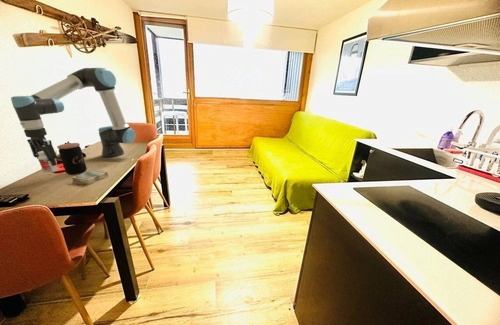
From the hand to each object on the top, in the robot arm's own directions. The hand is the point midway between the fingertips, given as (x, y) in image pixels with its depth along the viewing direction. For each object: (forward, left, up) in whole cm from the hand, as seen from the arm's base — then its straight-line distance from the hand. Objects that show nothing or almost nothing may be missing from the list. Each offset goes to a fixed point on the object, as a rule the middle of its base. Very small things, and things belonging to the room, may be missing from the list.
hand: (50, 170), depth 109 cm
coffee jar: (-17, -9, -9) cm, 22 cm away
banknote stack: (-11, +11, -9) cm, 18 cm away
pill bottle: (0, 0, -1) cm, 1 cm away
